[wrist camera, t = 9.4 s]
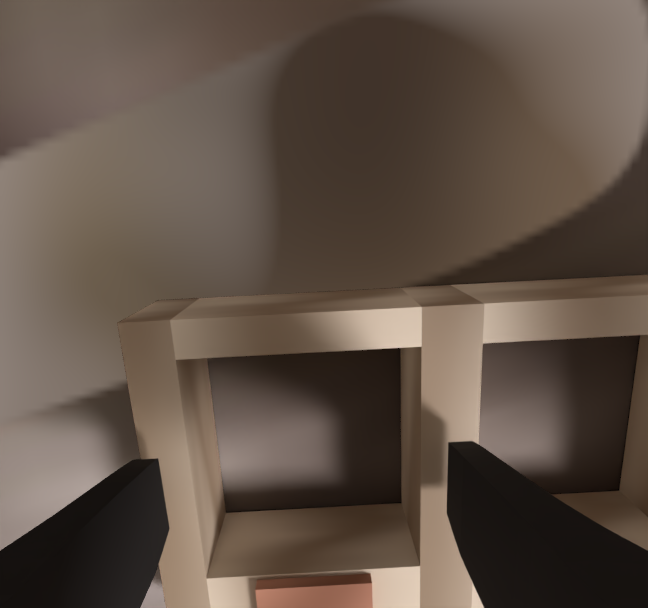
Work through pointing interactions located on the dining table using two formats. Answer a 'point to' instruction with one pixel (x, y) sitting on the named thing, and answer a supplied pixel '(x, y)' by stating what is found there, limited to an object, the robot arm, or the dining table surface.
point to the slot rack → (416, 435)
